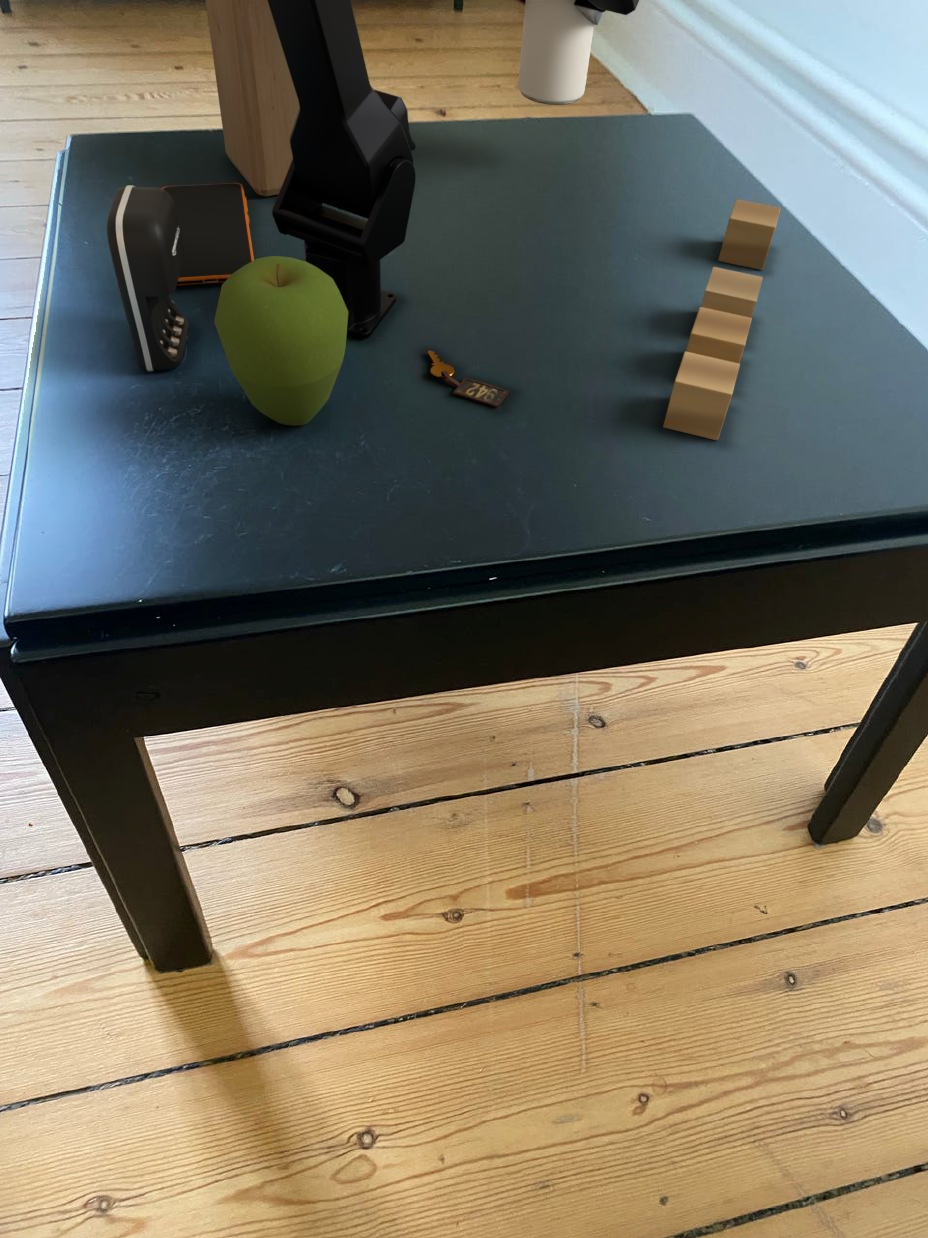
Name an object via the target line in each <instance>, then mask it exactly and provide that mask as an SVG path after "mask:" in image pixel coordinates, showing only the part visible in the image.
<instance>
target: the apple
mask: <svg viewBox="0 0 928 1238" xmlns="http://www.w3.org/2000/svg"><path fill="white" fill-rule="evenodd" d="M213 322H214V325H215V328H216V331H217V334H218V337H219V339H220V342H221V345H222V348H223V351H224V353H225V357H226V359H227V361H228V364H229V367H230V369H231V372H232V373H233V375H234V377H235V378H236V381H237V382H238V384H239V385H240V387H241V388H242V390H243V392H244V393H245V395H246V396H247V399H248V400H249V402H250V404H251V405H252V406H253V407H254V408H256V410H258V411H259V412H260V413H261V414H263V415H264V416H266V417H267V418H269V419H271V420H273V421H274V422H276V423H278V424H280V425H285V426H295V427H296V426H305V425H306V424H309V423H310V422H311V421H312V420H313V419H314V418H315V417H316V416H317V414H318V413H319V412H320V411H321V409H323V407H324V406H325V404H326V403H327V402H328V400H329V399H330V396H331V394H332V391H333V388H334V386H335V383H336V380H337V378H338V376H339V372H340V370H341V368H342V365H343V362H344V357H345V353H346V347H347V336H348V335H347V324H348V310H347V307H346V305H345V303H344V301H343V298H342V296H341V294H340V291H339V289H338V287H337V286H336V284H335V282H334V280H333V278H331V277H330V276H328V275H327V274H326V273H324V272H323V271H321V270H320V269H319V268H317V267H315V266H313V265H311V264H310V263H308V262H306V260H303V259H298V258H295V257H290V256H282V255H281V256H280V255H269V256H261V257H257V258H254V261H252V262H250V263H248V264H246V265H245V266H243V267H242V268H240V269H239V270H237V271H236V272H234V273H233V274H232V275H231V276H230V277H229V278H228V279H227V280H226V281H225V282H222V284H221V288H220V293H219V297H218V302H217V307H216V311H215V316H214V320H213Z"/></svg>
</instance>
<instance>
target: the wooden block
mask: <svg viewBox="0 0 928 1238" xmlns="http://www.w3.org/2000/svg"><path fill="white" fill-rule="evenodd" d="M205 6H206V13H207V22H208V29H209V36H210V37H209V38H210V43H211V44H210V45H211V51H212V57H213V58H212V59H213V60H212V61H213V66H214V74H215V81H216V82H215V83H216V88H217V89H216V90H217V96H218V97H217V98H218V104H219V110H220V111H219V112H220V118H221V127H222V133H223V134H222V135H223V139H224V140H223V141H224V149H225V153H226V155H227V157H228V159H229V160H230V161H231V163H232V164H233V166H234V167H235V168H236V169H237V170H238V171H239V174H241V175H242V177H243V178H244V179H245V180H246V182H247V183H248V184H249V186H250V187H251V188H252V190H253V191H254V193H256V195H258V196H263V197H270V196H276V195H277V196H278V195H279V192H280V190H281V187H282V185H283V182H284V180H285V177H286V174H287V172H288V169H289V167H290V164H291V162H292V159H293V156H292V151H291V146H290V141H289V137H290V134H291V131H292V128H293V125H294V122H295V119H296V115H297V112H298V109H299V102H298V97H297V94H296V91H295V88H294V84H293V81H292V78H291V75H290V72H289V68H288V65H287V62H286V59H285V55H284V52H283V49H282V46H281V43H280V39H279V36H278V33H277V30H276V26H275V23H274V20H273V17H272V14H271V10H270V7H269V4H268V1H267V0H205Z"/></svg>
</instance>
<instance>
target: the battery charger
mask: <svg viewBox="0 0 928 1238" xmlns="http://www.w3.org/2000/svg"><path fill="white" fill-rule="evenodd" d="M106 236H107V244H108V249H109V253H110V256H111V257H110V258H111V262H112V266H113V270H114V274H115V279H116V282H117V287H118V291H119V295H120V299H121V302H122V306H123V311H124V314H125V318H126V322H127V326H128V330H129V335H130V338H131V342H132V346H133V351H134V356H135V359H136V364H137V367H138V369H139V370H142V371H147V372H154V371H164V370H166V371H167V370H172V369H176V368H178V367H180V366H181V364H182V363H183V361H184V358H185V353H186V348H187V344H188V340H189V339H188V338H189V333H190V323H189V320H188V319H187V318H185V317H184V315H183V314H182V312H181V311H180V310H179V309H178V308H177V307H176V305H175V304H174V302H173V300H172V299H171V297H170V295H172V294H174V293H175V292H176V289H177V286H178V285H177V282H178V278H179V274H180V269H181V265H182V261H183V257H184V253H185V247H184V242H183V237H182V232H181V228H180V223H179V219H178V215H177V211H176V207H175V204H174V201H173V199H172V197H171V196H170V194H169V193H168V192H167V191H165V190H163V189H162V188H161V187H153V186H151V187H148V186H147V187H146V186H145V187H143V186H135V185H133V184H132V185H131V184H130V185H129V184H128V185H126V186H121V187H119V188H118V189H117V190H116V192H115V195H114V198H113V200H112V202H111V206H110V209H109V212H108V215H107V219H106Z"/></svg>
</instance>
